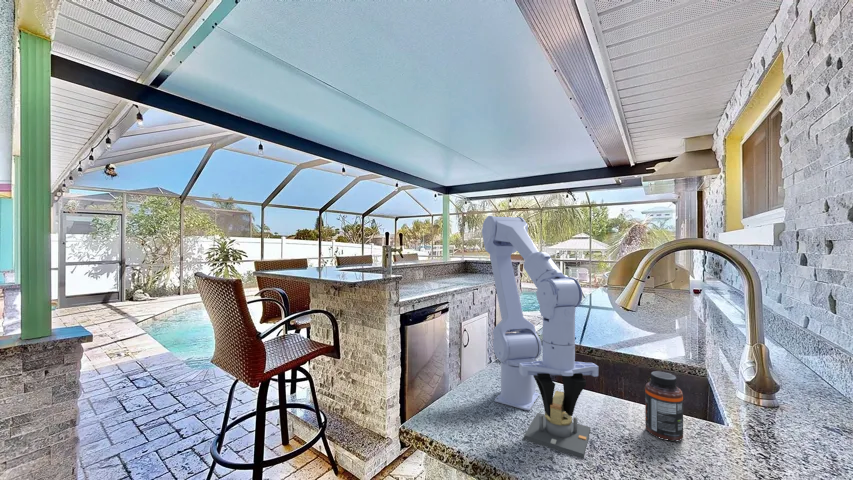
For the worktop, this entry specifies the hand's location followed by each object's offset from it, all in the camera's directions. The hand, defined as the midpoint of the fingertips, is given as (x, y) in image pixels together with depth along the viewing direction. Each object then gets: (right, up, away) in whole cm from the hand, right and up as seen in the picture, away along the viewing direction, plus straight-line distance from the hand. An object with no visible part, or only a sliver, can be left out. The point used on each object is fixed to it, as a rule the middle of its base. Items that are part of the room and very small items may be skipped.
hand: (558, 413), depth 63 cm
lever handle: (0, -1, 0) cm, 1 cm away
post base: (0, -4, 0) cm, 4 cm away
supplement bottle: (+21, -5, +1) cm, 21 cm away
